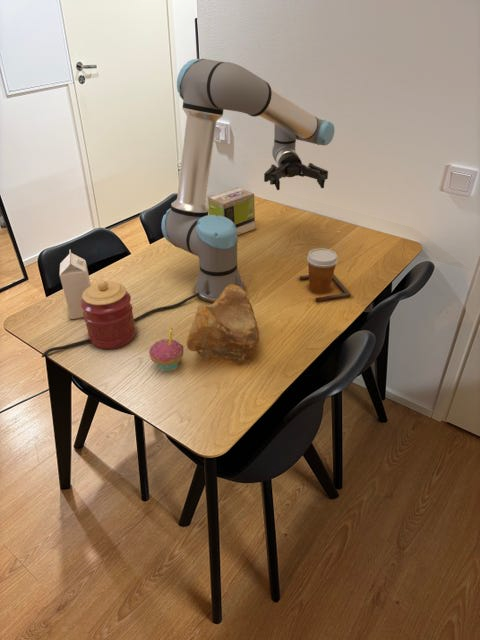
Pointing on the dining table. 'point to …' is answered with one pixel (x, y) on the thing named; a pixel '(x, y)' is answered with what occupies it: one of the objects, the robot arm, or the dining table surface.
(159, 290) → the dining table surface
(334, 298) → the walnut frame
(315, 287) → the disposable coffee cup
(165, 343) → the cupcake
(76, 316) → the milk carton
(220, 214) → the tea box
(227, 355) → the rough brown rock
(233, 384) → the dining table surface
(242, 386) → the dining table surface
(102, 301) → the kitchen canister
